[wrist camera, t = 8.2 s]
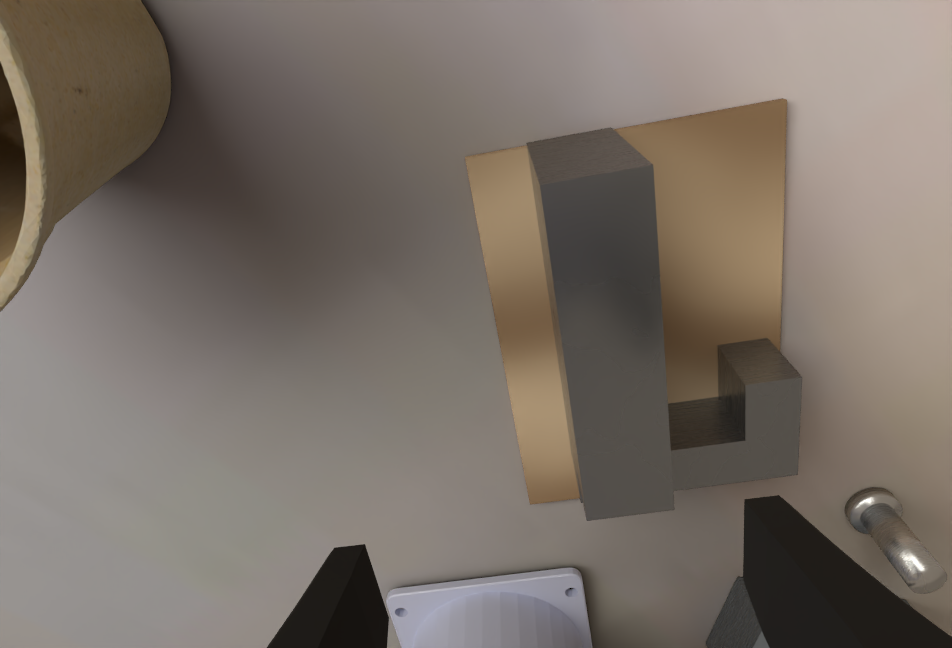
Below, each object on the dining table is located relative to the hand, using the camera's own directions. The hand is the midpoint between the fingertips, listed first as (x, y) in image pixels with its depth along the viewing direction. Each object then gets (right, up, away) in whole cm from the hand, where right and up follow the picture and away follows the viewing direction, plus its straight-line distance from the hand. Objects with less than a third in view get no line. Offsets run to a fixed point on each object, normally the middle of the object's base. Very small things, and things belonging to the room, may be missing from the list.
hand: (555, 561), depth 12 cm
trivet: (+4, +4, +9) cm, 10 cm away
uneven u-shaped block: (+4, +5, +8) cm, 10 cm away
